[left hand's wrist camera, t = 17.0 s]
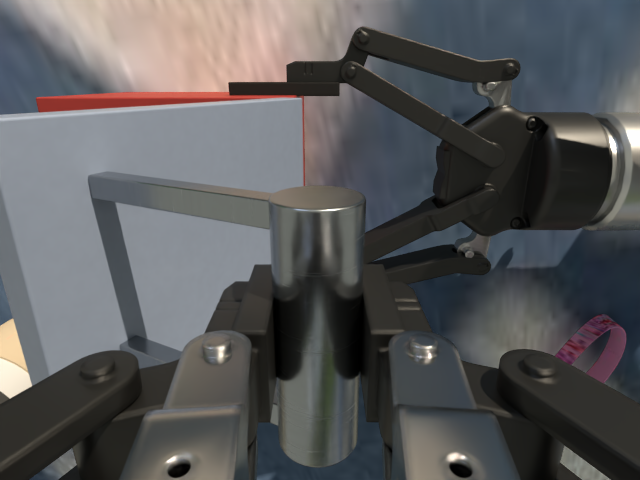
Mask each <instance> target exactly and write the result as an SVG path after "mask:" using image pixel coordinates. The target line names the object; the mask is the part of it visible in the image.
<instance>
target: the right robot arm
mask: <svg viewBox="0 0 640 480" xmlns="http://www.w3.org/2000/svg"><path fill="white" fill-rule="evenodd" d="M368 55H370V56H373V57H377V58H380V59H383V60H387V61H390V62H394V63H397V64H400V65H404V66H407V67H411V68H414V69H417V70H421V71H424V72H428V73H431V74H434V75H438V76H441V77H445V78H448V79H452V80H455V81H460V82H471V83H472V88H473V91H474V93H475V94H477V95H480V96H484V97H486V98H487V100H488V102H489V106H488V107H487V108H485V109H484V110H482V111H481V112H479V113H478V114H476V115H475V116H474V117H472V118H471V119H469V120H468V121H466V122H465V123H463V124H462V125H461V124H459V123H457V122H456V121H454V120H452V119H450V118H448V117H446V116H445V115H443V114H441V113H440V112H438V111H436V110H435V109H433V108H431V107H430V106H428V105H426V104H425V103H423V102H421V101H420V100H418V99H416V98H415V97H413V96H411V95H410V94H408V93H406V92H405V91H403V90H401V89H400V88H398V87H396V86H395V85H393V84H391V83H390V82H388V81H386V80H385V79H383V78H381V77H380V76H378V75H376V74H375V73H373V72H371V71H370V70H368V69H366V68H365V67H364V64H365V62H366V59H367V56H368ZM519 72H520V64H519V62H518V61H517V60H516V59H512V58H509V59H498V60H487V61H479V60H476V59H472V58H469V57H466V56H462V55H459V54H456V53H452V52H449V51H446V50H442V49H439V48H435V47H432V46H429V45H425V44H422V43H419V42H415V41H412V40H409V39H405V38H402V37H399V36H395V35H392V34H389V33H385V32H382V31H378V30H375V29H372V28H368V27H360V28H358V29H357V30H356V31H355V32H354V34H353V36H352V38H351V41H350V44H349V47H348V50H347V53H346V55H345V56H344V58H342V59H341V60H339V61H295V62H292V63H290V64H288V65H287V82H229V95H296V96H339V83H347V84H349V85H351V86H353V87H354V88H356V89H358V90H359V91H361V92H363V93H364V94H366V95H368V96H369V97H371V98H373V99H375V100H376V101H378V102H380V103H381V104H383V105H385V106H386V107H388V108H390V109H392V110H393V111H395V112H397V113H398V114H400V115H402V116H403V117H405V118H407V119H409V120H410V121H412V122H414V123H415V124H417V125H419V126H420V127H422V128H424V129H425V130H427V131H429V132H430V133H432V134H434V135H435V136H437V137H439V138H441V139H442V142H441V143H440V146H437V151H436V161H437V167H438V171H437V173H436V176H435V179H434V184H433V192H434V193H435V195H434V196H432V197H430V198H428V199H426V200H424V201H423V202H422V203H421V204H420V205H419V206H417V207H416V208H414V209H412V210H410V211H408V212H406V213H404V214H402V215H400V216H398V217H396V218H394V219H392V220H390V221H388V222H386V223H384V224H382V225H380V226H378V227H376V228H374V229H372V230H370V231H368V232H366V233H365V242H364V264H383V266H384V269H385V272H386V275H387V278H388V281H402V282H404V283H405V284H410V283H415V282H419V281H423V280H428V279H432V278H436V277H441V276H445V275H449V274H454V273H462V274H474V275H484V274H486V273H488V272H489V270H490V268H491V264H490V262H489V261H488V259H487V258H486V256H487V252H488V248H489V243H490V239H491V236H493V235H496V234H498V233H500V232H502V231H505V230H510V229H517V230H576V229H579V228H582V229H585V230H590V231H594V230H640V113H596V114H594V115H590V114H588V113H571V112H521V111H519V110H517V109H515V108H514V107H512V106H510V103H511V87H512V80H513V79H514V78H516V77H517V76H518V74H519ZM460 221H461V222H462V223H464V224H465V225H466V226H468V227H469V228H470V229H472V230H473V231H472V233H471V235H469V236H468V237H466V238H461V239H458V240H456V242H455V244H454V245H452V244H449V245H441V246H436V247H432V248H427V249H423V250H419V251H415V252H411V253H407V254H402V255H398V256H394V257H390V258H386V259H382V260H377V261H374V260H376V259H378V258H380V257H382V256H384V255H386V254H388V253H390V252H392V251H394V250H396V249H398V248H400V247H402V246H404V245H407V244H409V243H411V242H413V241H415V240H417V239H419V238H421V237H423V236H425V235H427V234H429V233H431V232H433V231H442V230H444V229H446V228H448V227H450V226H452V225H454V224H456V223H458V222H460ZM372 261H373V262H372Z"/></svg>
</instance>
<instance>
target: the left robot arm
mask: <svg viewBox="0 0 640 480" xmlns="http://www.w3.org/2000/svg"><path fill="white" fill-rule="evenodd" d="M360 377H361V384H362V391H363V399H364V406H365V413H366V421H367V422H379V427H380V433H381V436H382V438H383V443H382V461H383V480H581V479H580V478H579V477H578V476H576V475H575V474H574V473H572V472H571V471H570V470H569V469H567V468H566V467H565V466H564V465H562V464H561V463H560V460H561V456H562V452H563V448H564V445H565V446H566V447H568V448H569V449H570V450H572V451H573V452H574V453H576V454H577V455H578V456H580V457H581V458H583V459H584V460H585V461H587V462H588V463H589V464H591V465H592V466H593V467H595V468H596V469H597V470H599V471H600V472H601V473H603V474H604V475H606V476H607V477H608V478H610V479H611V480H640V404H639V403H637V402H635V401H633V400H632V399H630V398H628V397H626V396H625V395H623V394H621V393H619V392H618V391H616V390H614V389H612V388H611V387H609V386H607V385H605V384H603V383H602V382H600V381H598V380H596V379H595V378H593V377H591V376H589V375H588V374H586V373H584V372H582V371H581V370H579V369H577V368H575V367H574V366H572V365H570V364H568V363H567V362H565V361H563V360H561V359H559V358H557V357H555V356H553V355H550V354H547V353H544V352H540V351H536V350H528V349H518V350H512V351H509V352H507V353H505V354H504V355H503V356H502V357H501V359H500V364H499V369H497V368H492V367H487V366H482V365H477V364H472V363H468V362H465V361H462V360H460V357H459V354H458V351H457V349H456V347H455V346H454V344H453V343H452V342H451V341H449V340H448V339H446V338H445V337H443V336H441V335H438V334H435V333H433V332H432V330H431V328H430V326H429V323H428V321H427V319H426V317H425V314H424V312H423V310H422V308H421V305H420V303H419V302H418V299H417V296H416V294H415V292H414V290H413V289H412V288H410V287H409V286H408V285H406V284H405V283H404V282H402V281H388V278H387V275H386V272H385V269H384V266H383V264H364V269H363V297H362V324H361V352H360ZM276 380H277V366H276V342H275V318H274V296H273V293H272V274H271V264H255V265H254V268H253V271H252V274H251V276H250V279H249V281H235V282H234V283H233V284H231V285H230V286H229V287H227V288H226V289H225V290H224V291H223V293H222V295H221V298H220V300H219V302H218V304H217V306H216V310H215V311H214V313H213V315H212V317H211V319H210V322H209V324H208V326H207V328H206V330H205V333H204V334H202V335H199V336H197V337H195V338H194V339H192V340H191V341H189V342H188V343H187V344H186V346H185V347H184V349H183V351H182V354H181V357H180V359H178V360H175V361H172V362H169V363H165V364H161V365H156V366H151V367H146V368H141V369H139V363H138V359H137V357H136V356H135V355H133V354H132V353H130V352H126V351H121V350H110V351H102V352H98V353H94V354H91V355H88V356H86V357H83V358H81V359H79V360H77V361H75V362H73V363H72V364H70V365H68V366H66V367H65V368H63V369H61V370H59V371H58V372H56V373H54V374H52V375H51V376H49V377H47V378H45V379H44V380H42V381H40V382H38V383H37V384H35V385H33V386H31V387H29V388H28V389H26V390H24V391H22V392H21V393H19V394H17V395H15V396H14V397H12V398H10V399H8V400H7V401H5V402H3V403H1V404H0V480H29V479H30V478H32V477H33V476H34V475H36V474H37V473H38V472H40V471H41V470H43V469H44V468H45V467H47V466H48V465H49V464H51V463H52V462H53V461H55V460H56V459H57V458H59V457H60V456H62V455H63V454H64V453H66V452H67V451H68V450H70V449H71V448H73V452H74V456H75V460H76V464H77V465H76V466H75V467H74V468H73V469H71V470H70V471H69V472H67V473H66V474H65V475H64V476H62V477H61V478H60V479H59V480H257V460H258V443H257V427H258V422H271V415H272V408H273V401H274V394H275V387H276Z"/></svg>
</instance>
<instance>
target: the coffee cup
mask: <svg viewBox="0 0 640 480" xmlns="http://www.w3.org/2000/svg"><path fill="white" fill-rule="evenodd" d="M31 386H32V384H31V380H30V377H29V373H28V370H27V366H26V362H25V359H24V355H23V352H22V348H21V345H20V341H19V338H18V334H17V330H16V327H15V323H14V320H13V319H11V320H9V321H7V322H6V323H4V324H3V325H1V326H0V404H1V403H3V402H5V401H7V400H8V399H10V398H12V397H14V396H15V395H17V394H19V393H21V392H22V391H24V390H26V389H28V388H29V387H31Z"/></svg>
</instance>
